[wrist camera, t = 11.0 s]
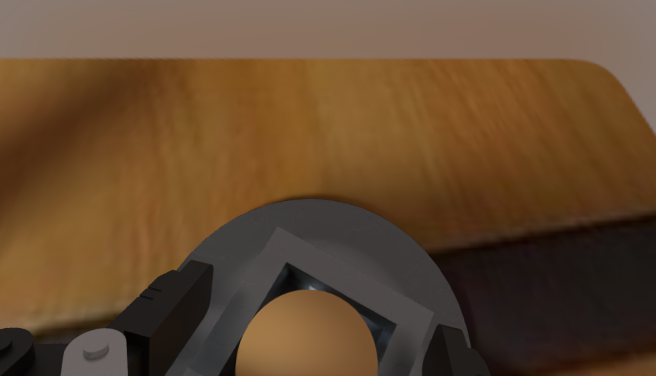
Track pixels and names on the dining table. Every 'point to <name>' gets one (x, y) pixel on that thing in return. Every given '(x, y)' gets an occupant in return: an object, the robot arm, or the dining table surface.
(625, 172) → the dining table surface
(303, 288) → the grey handled frame
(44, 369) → the robot arm
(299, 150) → the dining table surface
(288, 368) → the wedge pin
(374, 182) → the dining table surface
